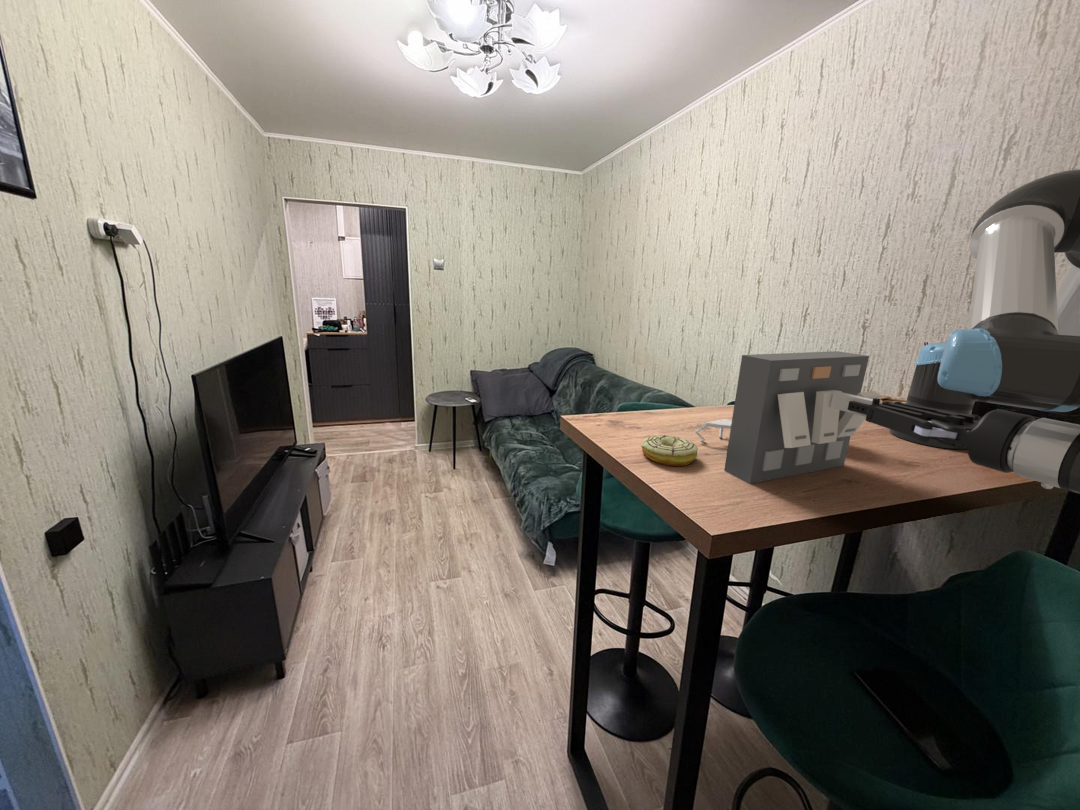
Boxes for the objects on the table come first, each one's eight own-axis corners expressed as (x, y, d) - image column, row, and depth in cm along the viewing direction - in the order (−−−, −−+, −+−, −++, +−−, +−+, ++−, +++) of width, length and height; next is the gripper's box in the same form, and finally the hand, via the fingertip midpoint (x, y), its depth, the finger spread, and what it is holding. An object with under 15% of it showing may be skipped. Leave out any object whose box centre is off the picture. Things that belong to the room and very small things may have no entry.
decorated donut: (663, 445, 95) (665, 429, 94) (706, 462, 86) (709, 444, 85) (630, 454, 89) (632, 437, 88) (673, 472, 80) (675, 453, 79)
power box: (845, 466, 85) (871, 356, 80) (751, 484, 76) (773, 360, 70) (815, 455, 91) (837, 351, 85) (724, 470, 82) (742, 355, 76)
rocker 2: (854, 435, 81) (882, 396, 76) (838, 438, 80) (866, 397, 75) (846, 430, 82) (874, 391, 77) (831, 432, 81) (858, 392, 76)
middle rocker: (837, 441, 76) (842, 391, 75) (820, 444, 75) (825, 392, 73) (828, 439, 78) (833, 390, 76) (811, 442, 76) (816, 391, 75)
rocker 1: (811, 445, 72) (804, 391, 73) (793, 447, 71) (785, 393, 71) (803, 445, 74) (796, 392, 74) (784, 447, 72) (777, 394, 73)
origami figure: (731, 435, 102) (734, 415, 101) (756, 448, 95) (760, 426, 93) (686, 438, 100) (689, 417, 98) (708, 451, 92) (711, 429, 90)
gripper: (986, 481, 51) (804, 423, 72) (1040, 467, 56) (854, 417, 77) (1006, 421, 50) (813, 379, 71) (1060, 412, 54) (864, 376, 75)
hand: (835, 399), depth 74 cm, fingers closed
